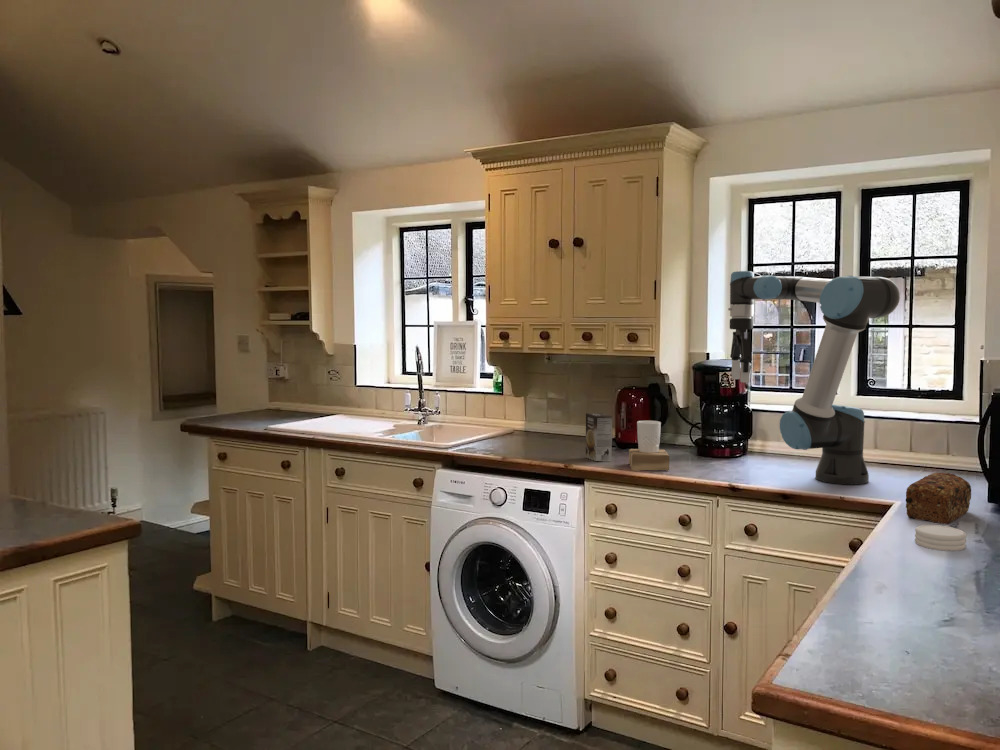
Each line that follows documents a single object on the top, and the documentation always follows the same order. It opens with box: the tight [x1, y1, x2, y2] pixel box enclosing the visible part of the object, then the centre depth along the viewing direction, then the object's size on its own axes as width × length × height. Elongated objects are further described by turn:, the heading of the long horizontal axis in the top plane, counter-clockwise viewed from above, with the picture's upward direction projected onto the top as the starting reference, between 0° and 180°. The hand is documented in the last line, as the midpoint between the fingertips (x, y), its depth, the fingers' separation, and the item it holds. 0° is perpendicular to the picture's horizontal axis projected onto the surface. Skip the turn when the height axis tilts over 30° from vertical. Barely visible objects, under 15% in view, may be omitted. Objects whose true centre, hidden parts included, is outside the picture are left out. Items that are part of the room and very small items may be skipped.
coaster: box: [914, 524, 967, 552], centre depth 179 cm, size 10×10×4 cm
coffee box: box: [585, 412, 613, 462], centre depth 286 cm, size 9×6×16 cm
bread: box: [905, 472, 972, 525], centre depth 206 cm, size 19×11×10 cm, turn 134°
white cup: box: [636, 420, 662, 453], centre depth 272 cm, size 8×8×10 cm
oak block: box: [628, 448, 670, 472], centre depth 272 cm, size 12×12×5 cm
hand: (740, 380), depth 273 cm, fingers open, 13 cm apart
